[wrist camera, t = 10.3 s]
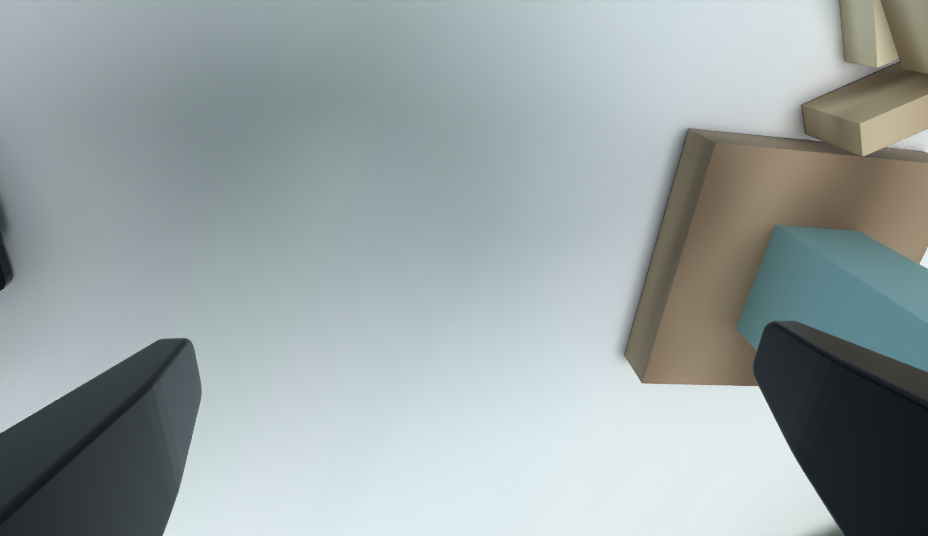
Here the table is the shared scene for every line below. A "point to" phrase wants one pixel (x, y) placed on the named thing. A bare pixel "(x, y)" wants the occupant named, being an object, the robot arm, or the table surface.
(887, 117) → the frame
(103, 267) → the table surface
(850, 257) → the teal block
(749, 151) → the base block
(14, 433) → the robot arm
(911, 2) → the offcut top
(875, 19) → the offcut low
